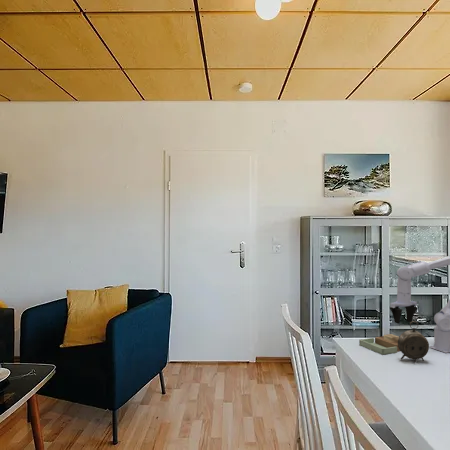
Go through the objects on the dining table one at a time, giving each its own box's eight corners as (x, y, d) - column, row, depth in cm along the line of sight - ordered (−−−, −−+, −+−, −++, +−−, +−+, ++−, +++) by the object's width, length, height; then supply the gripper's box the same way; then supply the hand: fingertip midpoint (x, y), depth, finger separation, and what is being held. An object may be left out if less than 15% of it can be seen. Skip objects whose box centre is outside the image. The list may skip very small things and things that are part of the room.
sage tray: (372, 343, 175) (372, 337, 175) (397, 352, 162) (397, 346, 162) (359, 345, 172) (359, 339, 172) (382, 355, 159) (382, 349, 159)
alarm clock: (424, 359, 154) (425, 319, 154) (430, 364, 148) (431, 323, 148) (397, 358, 155) (397, 319, 155) (401, 363, 149) (402, 322, 150)
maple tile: (391, 338, 172) (391, 333, 172) (399, 341, 168) (399, 336, 168) (383, 339, 171) (383, 334, 171) (391, 342, 167) (391, 337, 167)
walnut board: (389, 341, 177) (389, 335, 177) (410, 349, 166) (410, 342, 166) (374, 343, 174) (374, 337, 174) (395, 352, 163) (395, 345, 163)
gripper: (408, 290, 179) (407, 319, 179) (385, 292, 173) (384, 321, 173) (421, 293, 172) (420, 322, 172) (397, 294, 166) (396, 325, 167)
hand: (403, 322), depth 172 cm, fingers open, 7 cm apart
